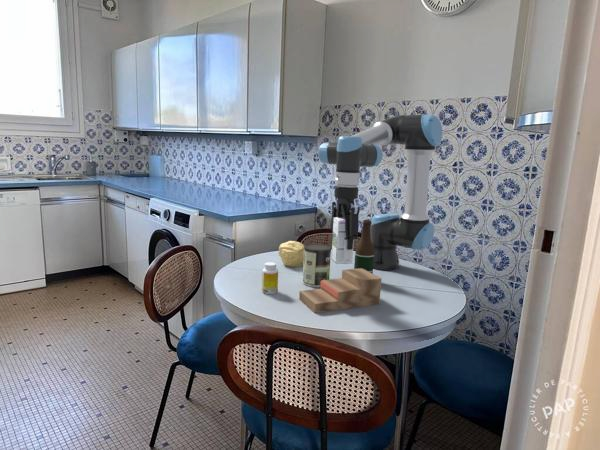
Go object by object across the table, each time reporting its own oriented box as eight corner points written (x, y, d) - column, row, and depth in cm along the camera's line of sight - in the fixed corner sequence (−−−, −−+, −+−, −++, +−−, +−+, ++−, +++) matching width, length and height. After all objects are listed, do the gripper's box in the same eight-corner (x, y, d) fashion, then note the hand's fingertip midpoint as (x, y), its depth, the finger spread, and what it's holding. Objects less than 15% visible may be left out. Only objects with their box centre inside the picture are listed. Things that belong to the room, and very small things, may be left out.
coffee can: (330, 280, 162) (333, 244, 159) (327, 288, 152) (329, 251, 149) (304, 277, 164) (306, 242, 161) (299, 285, 154) (301, 248, 151)
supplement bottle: (280, 293, 145) (281, 265, 143) (265, 295, 142) (265, 266, 140) (273, 288, 150) (274, 260, 148) (259, 290, 147) (260, 262, 145)
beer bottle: (367, 285, 158) (372, 223, 153) (349, 281, 162) (353, 220, 157) (375, 280, 164) (380, 220, 160) (357, 276, 168) (361, 217, 164)
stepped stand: (360, 292, 150) (361, 268, 148) (379, 304, 139) (381, 278, 137) (299, 299, 140) (300, 273, 138) (314, 313, 129) (316, 285, 128)
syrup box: (353, 264, 135) (356, 219, 132) (335, 264, 133) (338, 219, 131) (347, 259, 140) (350, 216, 137) (330, 259, 139) (333, 216, 136)
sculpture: (274, 265, 178) (275, 241, 175) (289, 259, 188) (290, 236, 186) (297, 270, 172) (298, 245, 170) (311, 264, 182) (313, 240, 180)
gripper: (322, 182, 139) (318, 249, 144) (352, 189, 122) (346, 264, 126) (341, 182, 142) (337, 248, 147) (373, 189, 125) (367, 263, 129)
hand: (342, 255), depth 136 cm, fingers closed on syrup box, 6 cm apart
